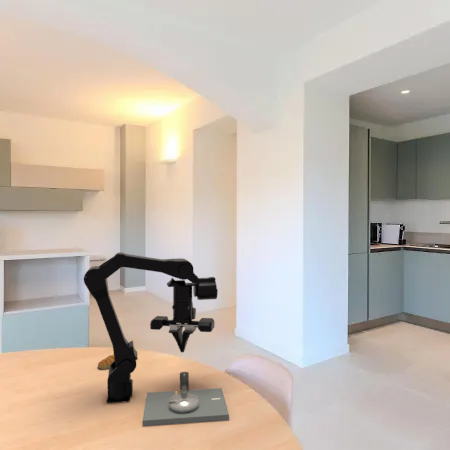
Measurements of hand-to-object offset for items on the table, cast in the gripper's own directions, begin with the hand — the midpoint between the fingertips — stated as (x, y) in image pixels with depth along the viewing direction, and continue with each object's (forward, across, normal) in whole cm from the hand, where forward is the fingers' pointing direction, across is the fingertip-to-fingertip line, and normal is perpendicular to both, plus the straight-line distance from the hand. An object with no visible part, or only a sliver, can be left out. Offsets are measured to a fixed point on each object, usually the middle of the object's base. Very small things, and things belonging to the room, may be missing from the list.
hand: (182, 352), depth 119 cm
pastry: (+12, +30, -17) cm, 37 cm away
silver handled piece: (+10, -3, +9) cm, 14 cm away
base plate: (+12, -4, +11) cm, 16 cm away
